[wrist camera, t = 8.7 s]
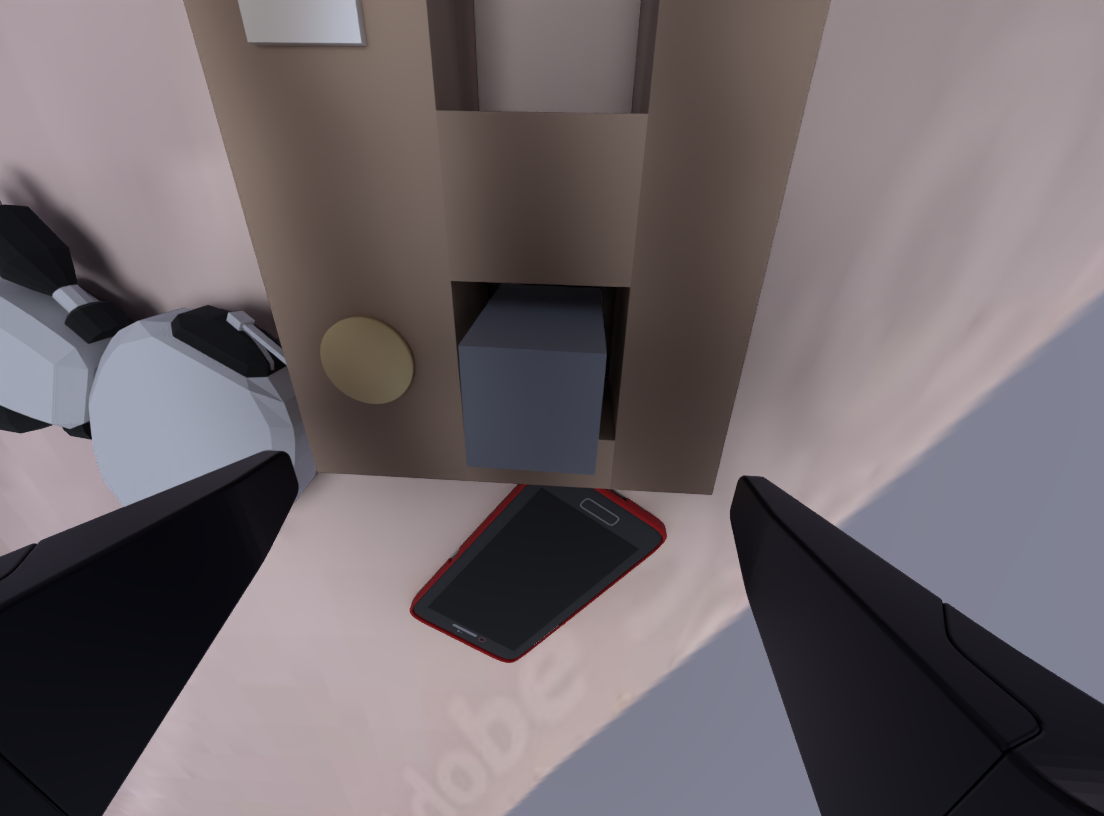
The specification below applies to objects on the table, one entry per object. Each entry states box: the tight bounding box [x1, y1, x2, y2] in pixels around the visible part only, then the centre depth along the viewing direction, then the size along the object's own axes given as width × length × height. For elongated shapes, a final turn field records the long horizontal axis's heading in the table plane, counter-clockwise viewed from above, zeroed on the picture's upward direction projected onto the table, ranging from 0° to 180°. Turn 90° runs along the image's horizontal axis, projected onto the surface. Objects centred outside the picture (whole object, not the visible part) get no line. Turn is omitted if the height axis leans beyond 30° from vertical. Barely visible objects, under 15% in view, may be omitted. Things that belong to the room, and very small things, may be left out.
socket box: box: [183, 0, 831, 495], centre depth 14 cm, size 14×18×5 cm
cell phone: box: [410, 484, 667, 663], centre depth 25 cm, size 8×15×1 cm, turn 143°
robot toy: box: [0, 201, 316, 507], centre depth 19 cm, size 12×4×15 cm
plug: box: [458, 284, 607, 475], centre depth 15 cm, size 3×3×8 cm
